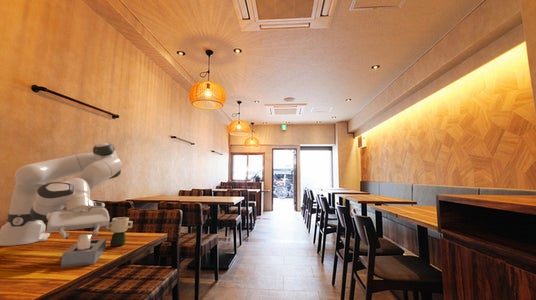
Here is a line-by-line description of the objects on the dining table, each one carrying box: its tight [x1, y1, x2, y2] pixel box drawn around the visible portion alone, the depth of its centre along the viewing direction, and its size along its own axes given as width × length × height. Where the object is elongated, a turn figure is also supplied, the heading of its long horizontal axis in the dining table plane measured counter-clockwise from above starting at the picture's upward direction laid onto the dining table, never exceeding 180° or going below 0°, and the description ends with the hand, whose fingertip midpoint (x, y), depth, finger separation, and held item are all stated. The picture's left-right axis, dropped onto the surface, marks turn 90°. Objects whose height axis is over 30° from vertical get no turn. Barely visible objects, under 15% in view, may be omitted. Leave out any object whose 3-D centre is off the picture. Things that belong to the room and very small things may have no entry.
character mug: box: [105, 216, 134, 247], centre depth 112 cm, size 11×7×13 cm, turn 122°
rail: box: [60, 237, 107, 269], centre depth 93 cm, size 20×10×5 cm, turn 26°
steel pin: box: [77, 233, 92, 251], centre depth 89 cm, size 4×4×10 cm
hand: (81, 236), depth 90 cm, fingers open, 8 cm apart
